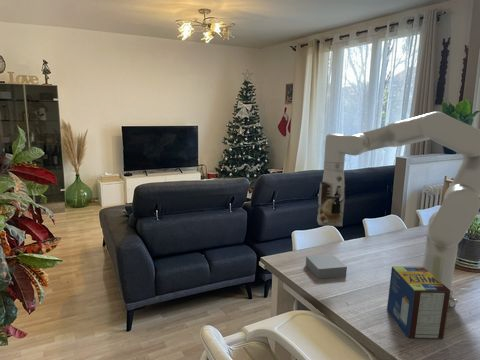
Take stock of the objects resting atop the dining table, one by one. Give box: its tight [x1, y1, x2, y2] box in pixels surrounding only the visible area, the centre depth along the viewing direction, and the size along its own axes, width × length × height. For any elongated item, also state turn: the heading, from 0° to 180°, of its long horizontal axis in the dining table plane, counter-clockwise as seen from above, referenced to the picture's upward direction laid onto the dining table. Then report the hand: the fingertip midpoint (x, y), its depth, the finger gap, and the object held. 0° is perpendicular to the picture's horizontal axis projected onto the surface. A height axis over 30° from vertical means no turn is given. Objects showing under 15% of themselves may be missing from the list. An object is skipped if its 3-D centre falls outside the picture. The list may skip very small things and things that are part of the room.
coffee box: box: [316, 181, 347, 227], centre depth 136 cm, size 9×6×16 cm
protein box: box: [386, 265, 450, 340], centre depth 107 cm, size 10×15×16 cm
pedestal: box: [305, 253, 348, 279], centre depth 142 cm, size 12×12×4 cm
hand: (330, 210), depth 137 cm, fingers closed on coffee box, 7 cm apart
